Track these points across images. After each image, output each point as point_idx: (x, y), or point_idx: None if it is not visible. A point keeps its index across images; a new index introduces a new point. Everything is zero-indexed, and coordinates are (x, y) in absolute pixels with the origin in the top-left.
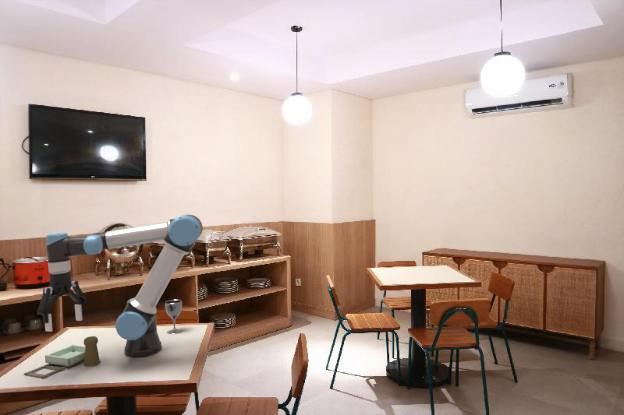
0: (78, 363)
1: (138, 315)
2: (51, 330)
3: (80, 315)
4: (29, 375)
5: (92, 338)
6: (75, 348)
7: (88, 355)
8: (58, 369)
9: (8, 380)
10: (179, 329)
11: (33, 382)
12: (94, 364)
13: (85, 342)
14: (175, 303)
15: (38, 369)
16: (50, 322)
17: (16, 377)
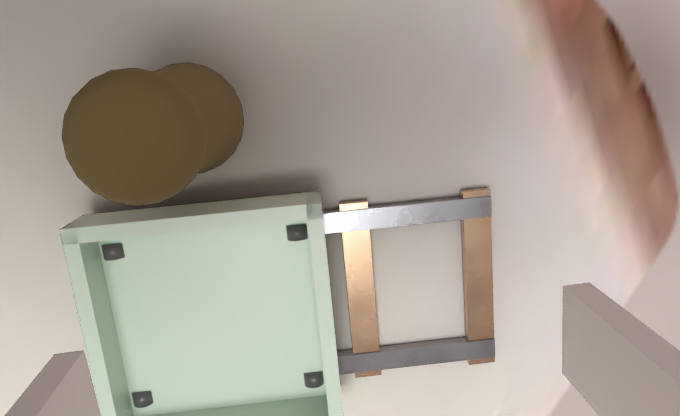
0: None
1: None
2: (581, 289)
3: (47, 400)
4: (491, 312)
5: (133, 93)
6: (122, 405)
7: (213, 101)
8: (373, 219)
9: None
10: None
11: (547, 193)
12: (200, 66)
13: (202, 131)
14: None
15: (416, 345)
16: (660, 348)
17: (528, 361)
